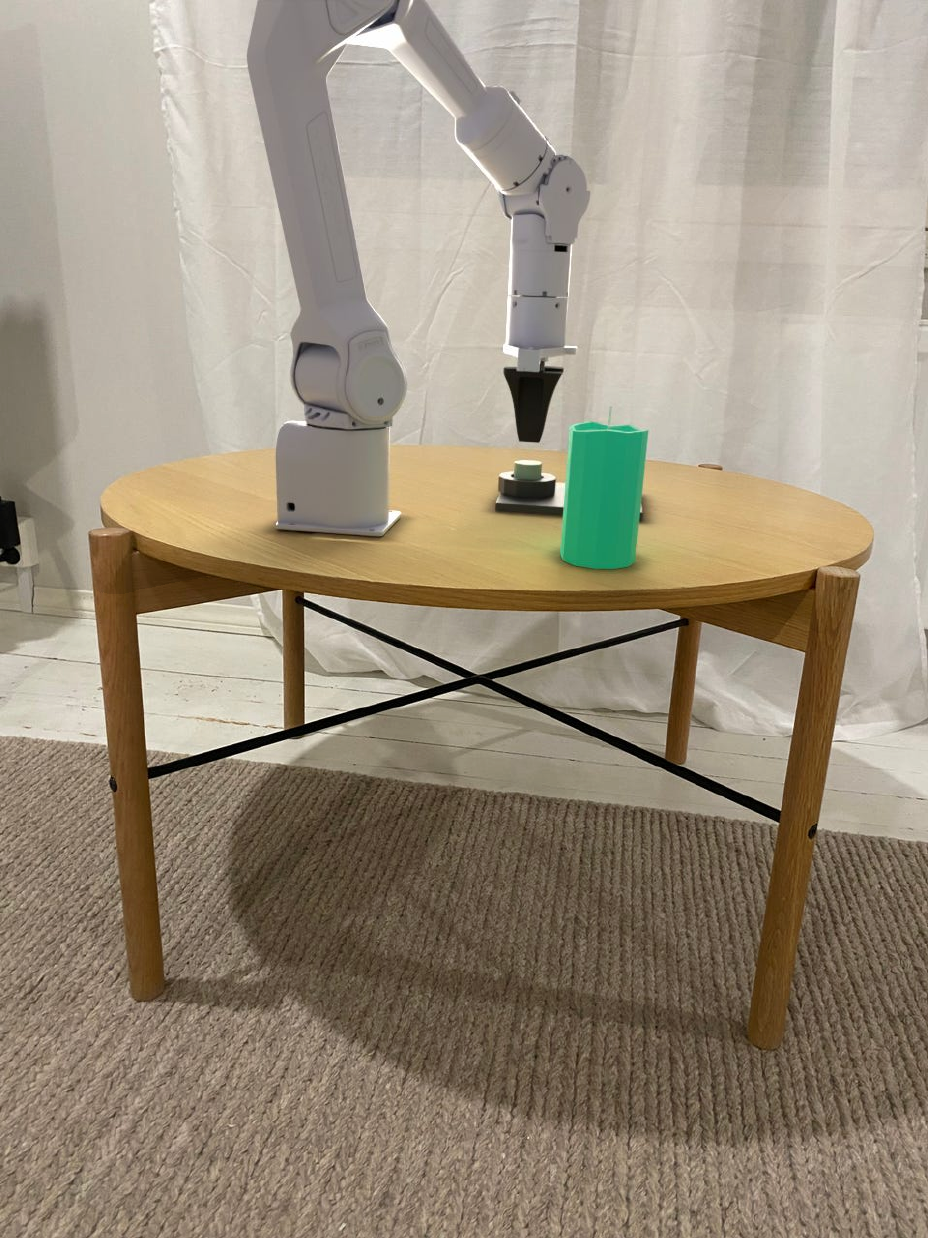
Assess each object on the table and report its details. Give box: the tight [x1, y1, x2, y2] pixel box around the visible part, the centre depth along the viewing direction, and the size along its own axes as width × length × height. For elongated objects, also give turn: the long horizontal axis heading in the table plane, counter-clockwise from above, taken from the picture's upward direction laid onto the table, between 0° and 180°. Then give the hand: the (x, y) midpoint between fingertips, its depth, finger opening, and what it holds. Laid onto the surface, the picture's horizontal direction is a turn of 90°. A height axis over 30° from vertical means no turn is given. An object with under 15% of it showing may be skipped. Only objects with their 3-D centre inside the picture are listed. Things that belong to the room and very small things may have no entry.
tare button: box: [513, 459, 543, 480], centre depth 93 cm, size 3×3×2 cm
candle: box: [559, 406, 649, 570], centre depth 72 cm, size 6×6×12 cm
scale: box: [494, 470, 644, 522], centre depth 93 cm, size 14×12×2 cm
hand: (529, 441), depth 92 cm, fingers closed
